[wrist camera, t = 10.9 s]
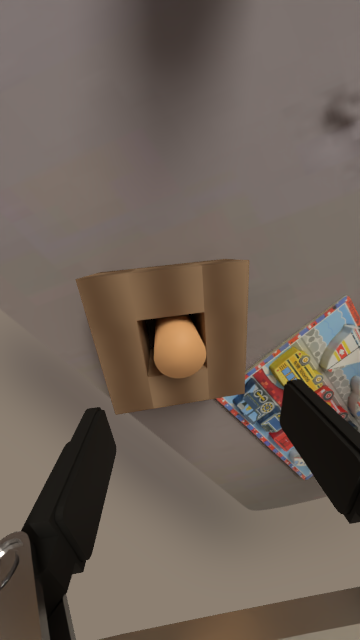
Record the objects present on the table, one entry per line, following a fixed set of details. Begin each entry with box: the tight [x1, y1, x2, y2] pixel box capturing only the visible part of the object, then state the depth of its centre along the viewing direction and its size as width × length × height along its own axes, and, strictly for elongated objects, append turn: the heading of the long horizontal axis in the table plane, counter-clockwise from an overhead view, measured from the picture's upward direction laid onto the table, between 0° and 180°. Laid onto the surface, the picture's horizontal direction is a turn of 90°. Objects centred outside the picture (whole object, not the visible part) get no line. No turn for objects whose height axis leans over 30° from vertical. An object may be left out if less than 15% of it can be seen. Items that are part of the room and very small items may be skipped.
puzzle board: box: [216, 296, 360, 480], centre depth 30 cm, size 30×23×3 cm
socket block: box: [76, 259, 249, 415], centre depth 20 cm, size 14×14×6 cm
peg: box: [154, 314, 206, 378], centre depth 19 cm, size 4×4×8 cm
